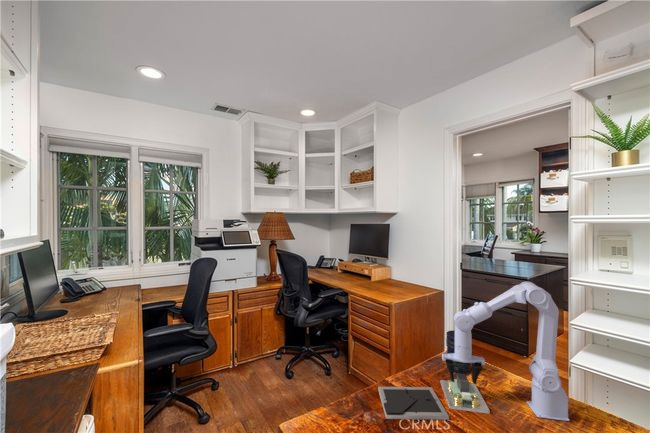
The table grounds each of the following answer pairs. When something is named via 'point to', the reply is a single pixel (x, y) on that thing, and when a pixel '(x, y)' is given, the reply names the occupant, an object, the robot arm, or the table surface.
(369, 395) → the table surface
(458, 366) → the storage jar
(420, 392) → the picture frame
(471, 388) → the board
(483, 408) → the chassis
